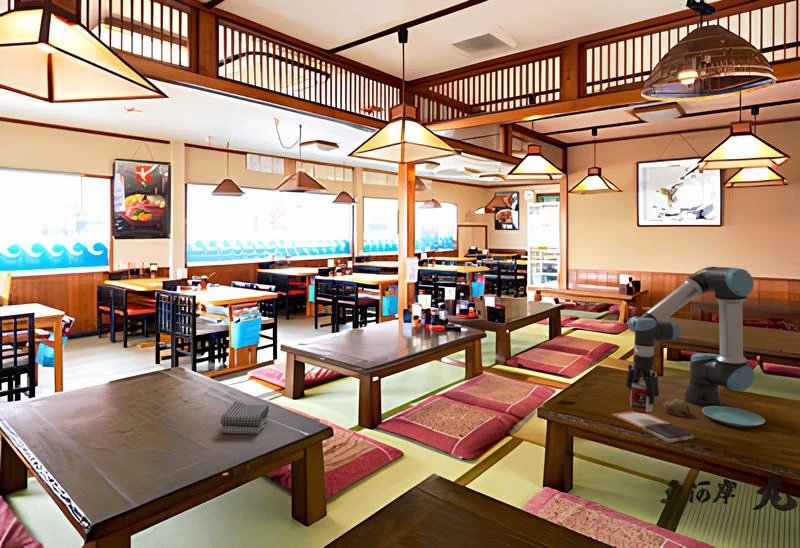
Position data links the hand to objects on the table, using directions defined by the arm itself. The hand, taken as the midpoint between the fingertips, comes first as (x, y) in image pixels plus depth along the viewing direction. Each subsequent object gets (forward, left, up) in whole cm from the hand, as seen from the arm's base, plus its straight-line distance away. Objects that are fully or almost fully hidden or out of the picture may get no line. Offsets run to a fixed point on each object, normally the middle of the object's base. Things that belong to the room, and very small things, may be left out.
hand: (640, 408), depth 206 cm
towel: (+158, -39, -6) cm, 163 cm away
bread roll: (-23, -3, -5) cm, 23 cm away
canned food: (0, 0, -1) cm, 1 cm away
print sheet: (0, 0, -5) cm, 5 cm away
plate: (-38, +12, -5) cm, 40 cm away
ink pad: (+2, +16, -5) cm, 16 cm away
